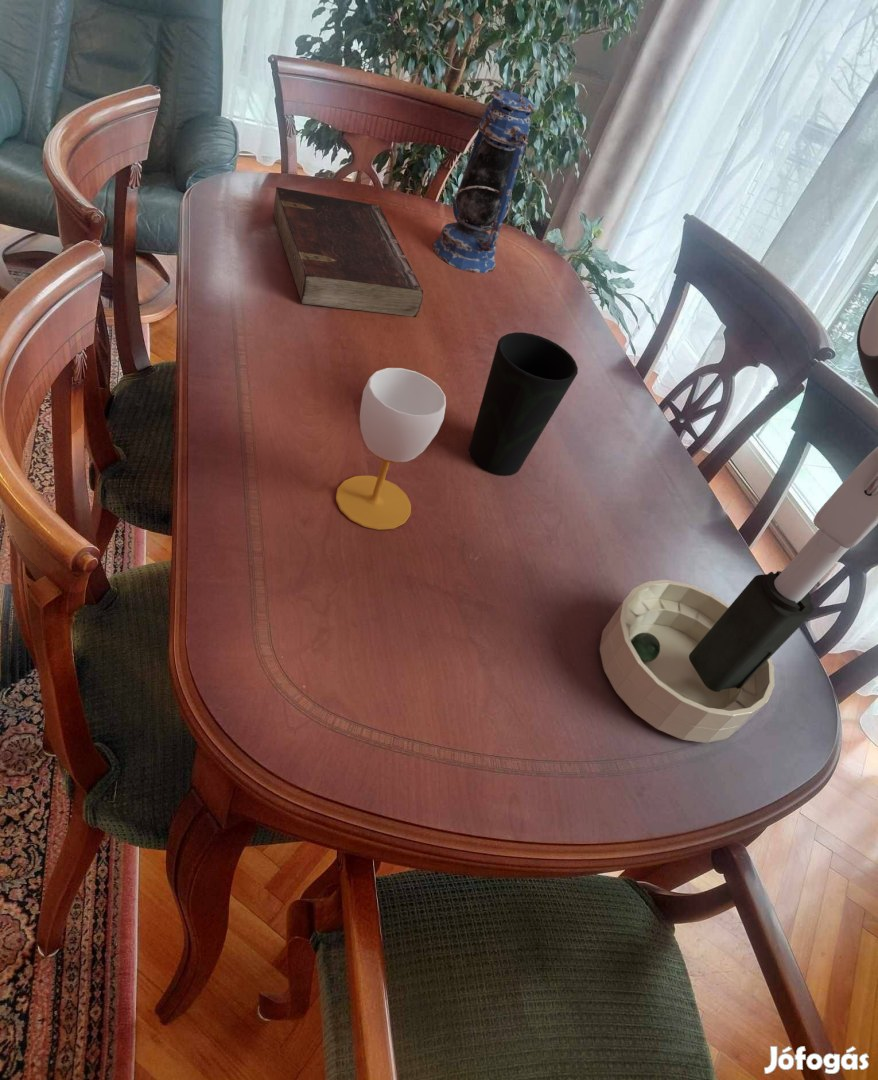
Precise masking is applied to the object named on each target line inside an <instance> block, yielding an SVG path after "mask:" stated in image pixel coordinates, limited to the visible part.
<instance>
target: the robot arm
mask: <svg viewBox="0 0 878 1080" xmlns="http://www.w3.org/2000/svg"><path fill="white" fill-rule="evenodd" d="M860 319H861V320H860V322H859V326H858V329H857V334H856V347H857V348H856V349H857V354H858V358H859V359H858V360H859V362H860V366H861V369H862V373H863V374H864V377H865V379H866V382H867V384H868V386H869V388H870V390H871V392H872V394H873V395H874V397H875V398H877V399H878V290H876V292H875V293H874V295H873V297H871V299H870V301H869V303H868V304H867V306H866V308H865V310H864V312H863V315H862V317H861V318H860ZM812 523H813V525H814V526H815V527H816V528H817V529H818V530H821V531H822V532H823V533H822V535H821V536H820V537H819V538H818V541H817V542H818V544H819V545H820V546H821V547H823V548H824V549H825V550H827V551H828V552H830V553H835V552H836V551H837V550H838V549H839V548H840V547H841V546H843V547H845V548H849V549H853V548H854V547H855V546H857V545H858V544H859V543H861V541H862V540H863V539H864V538H866V536H867V535H868V534H870V533H871V531H873V530H874V528H875V527H876V526H877V525H878V446H876V447H875V448H874V449H873V450H872V451H871V452H870V453H869V454H867V456H866V457H865V458H864V459H863V460H862V461H861V462H860V463H859V464H858V465H857V466H856V467H855V468H854V469H853V471H851V473H850V474H849V475H848V476H847V477H846V478H845V480H844V481H843V482H842V483H841V484H840V485H839V487H838V488H837V489H836V490H835V491H834V492H833V494H832V495H830V497H829V498H828V499H827V500H826V501H825V503H824V504H823V505H822V506H821V507H820V508H819V510H818V511H817V512H816V514H815V516H814V518H813V521H812Z"/></svg>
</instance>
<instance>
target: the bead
mask: <svg viewBox="0 0 878 1080" xmlns="http://www.w3.org/2000/svg"><path fill="white" fill-rule="evenodd" d="M631 643H632V645H633V647H634V648H635V650H636V652H637V654H638V655H639V657H640V659H641V661H642V662H651V661H653V660H655V659H656V658H657V656H658V655H659V653H660V643H659V641H658V639H657V638H656V637H655V636H654V635H652V634H650V633H645V632H644V633H639V634H637V635H635V636H634V637H633V638H632V640H631Z"/></svg>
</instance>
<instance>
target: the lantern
mask: <svg viewBox="0 0 878 1080" xmlns="http://www.w3.org/2000/svg"><path fill="white" fill-rule="evenodd" d="M516 85H517V86H518V87H519V88H520V90H519V93H518V92H514V91H513V90H514V89H515V86H516ZM523 94H524V85H523V83H521V82H519V80H515V81H513V83H512V85H511V87H510V88H509V87H507V88H506V89H499V90H492V91H491V92H490V96H491V98H492V100H491V101H489V102H488V103H487V105H486V109H485V111H484V114H483V115H482V118H481V120H480V122H479V123H478V124H477V129H478V131H477V134H476V137H475V139H474V143H473V145H472V150H471V151H470V154H469V158H468V160H467V164H466V166H465V169H464V172H463V174H462V178H461V181H460V184H459V186H458V188H457V190H456V192H455V194H454V196H453V199H452V200H453V202H452V203H453V204H452V212H453V216H454V218H455V221H456V222H450V223H446V224H445V225H444V226H443V227H442V230H441V233H440V236H439V237H438V238H437V239H436V240H435V242H433V243H432V251H433V252H434V253H435V255H436V256H437V257H438V259H440V260H442V261H443V262H444V263H446V264H447V265H449V266H452V267H454V268H457V269H459V270H461V271H465V272H470V273H472V274H473V273H475V274H486V273H489V272H493V271H494V270H495V268H496V267H497V264H496V257H495V255H496V252H497V248H498V244H497V243H498V239H499V236H500V232H501V229H502V225H503V222H504V220H505V218H506V217H507V215H508V213H509V211H510V207H511V203H512V194H513V193H512V192H513V189H514V185H515V182H516V179H517V175H518V172H519V168H520V165H521V162H522V159H523V155H524V152H525V148H526V146H528V144H529V138H528V137H529V134H530V132H529V131H530V127H531V125H532V120H531V118H530V117H531V115H532V112H533V113H534V112H535V111H536V110H537V108H536V106H535V104H534V103H532V101H531V100H530V99H529V98H528V97H525V96H524V95H523ZM489 231H490V233H489Z"/></svg>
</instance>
